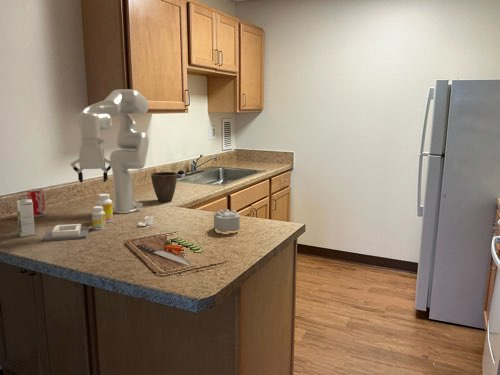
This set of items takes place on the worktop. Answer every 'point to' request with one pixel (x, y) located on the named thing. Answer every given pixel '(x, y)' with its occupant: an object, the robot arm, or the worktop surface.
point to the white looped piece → (147, 221)
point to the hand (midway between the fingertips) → (93, 181)
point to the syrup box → (25, 217)
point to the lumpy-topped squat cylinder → (226, 220)
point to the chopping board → (163, 251)
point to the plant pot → (164, 185)
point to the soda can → (37, 201)
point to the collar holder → (66, 232)
